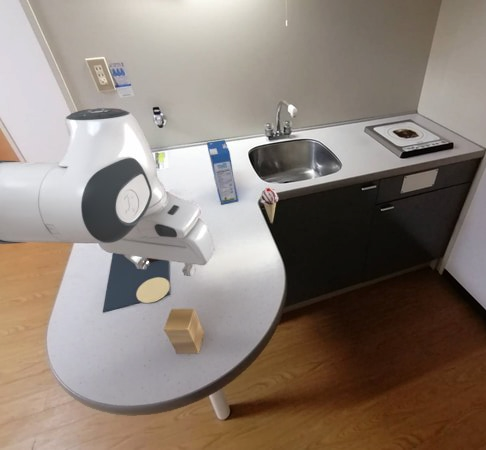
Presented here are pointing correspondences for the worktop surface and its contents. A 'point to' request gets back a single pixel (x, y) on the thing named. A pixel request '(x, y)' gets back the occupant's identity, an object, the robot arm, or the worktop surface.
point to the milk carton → (222, 171)
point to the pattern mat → (135, 283)
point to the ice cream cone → (269, 202)
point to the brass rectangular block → (184, 330)
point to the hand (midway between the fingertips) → (166, 270)
